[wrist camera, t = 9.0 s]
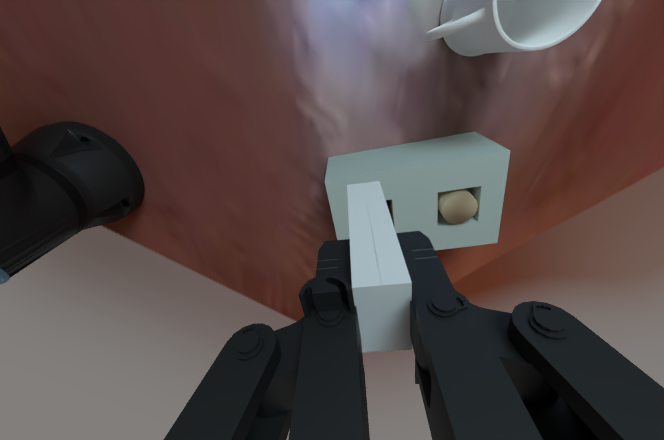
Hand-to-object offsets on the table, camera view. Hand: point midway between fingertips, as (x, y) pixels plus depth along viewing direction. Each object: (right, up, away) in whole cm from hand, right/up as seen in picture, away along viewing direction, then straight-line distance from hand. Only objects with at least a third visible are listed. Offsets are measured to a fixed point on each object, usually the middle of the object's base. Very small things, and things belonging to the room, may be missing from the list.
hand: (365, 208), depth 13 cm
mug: (+13, +22, +17) cm, 31 cm away
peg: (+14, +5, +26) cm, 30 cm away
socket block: (+9, +5, +27) cm, 29 cm away
